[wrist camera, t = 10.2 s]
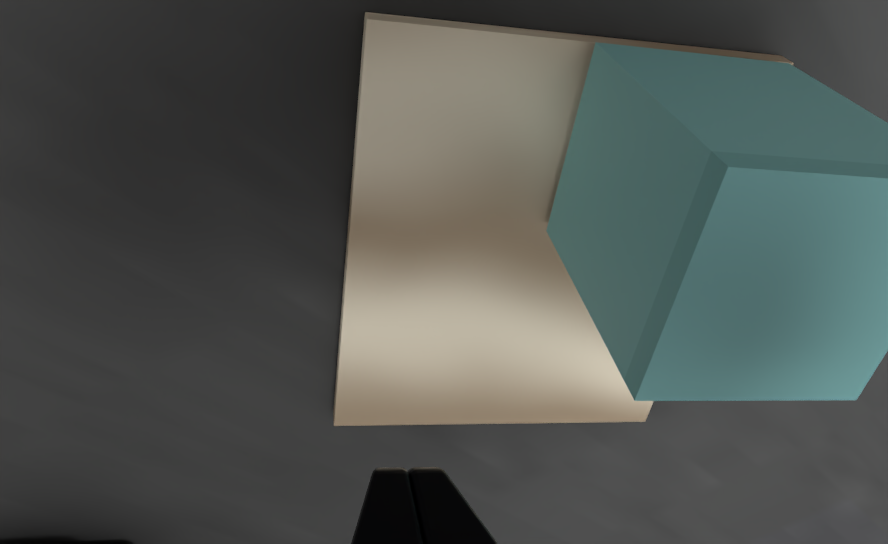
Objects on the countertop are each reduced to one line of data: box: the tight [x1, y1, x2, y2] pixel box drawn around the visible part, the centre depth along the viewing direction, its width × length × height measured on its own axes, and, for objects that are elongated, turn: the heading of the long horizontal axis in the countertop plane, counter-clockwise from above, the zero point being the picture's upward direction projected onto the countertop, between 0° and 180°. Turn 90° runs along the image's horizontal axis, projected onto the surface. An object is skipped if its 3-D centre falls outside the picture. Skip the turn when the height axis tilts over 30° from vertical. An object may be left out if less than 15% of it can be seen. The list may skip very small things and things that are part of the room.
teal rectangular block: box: [546, 42, 888, 401], centre depth 16 cm, size 5×5×7 cm
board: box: [333, 12, 794, 426], centre depth 21 cm, size 13×11×1 cm
